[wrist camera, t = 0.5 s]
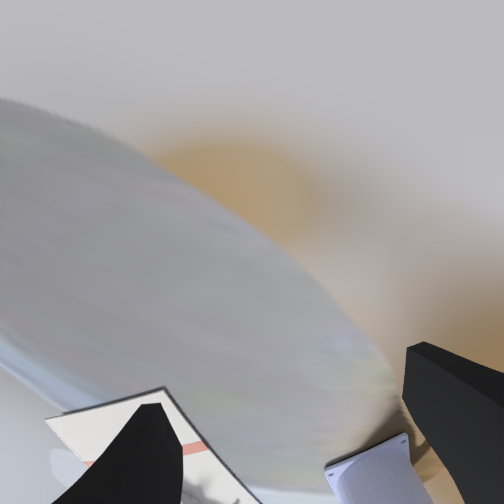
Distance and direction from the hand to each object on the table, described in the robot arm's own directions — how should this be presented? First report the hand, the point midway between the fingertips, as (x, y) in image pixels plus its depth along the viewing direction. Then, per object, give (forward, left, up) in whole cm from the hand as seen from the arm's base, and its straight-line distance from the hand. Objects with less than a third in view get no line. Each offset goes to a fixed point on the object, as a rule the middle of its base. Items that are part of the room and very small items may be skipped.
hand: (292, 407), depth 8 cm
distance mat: (-14, +14, -10) cm, 23 cm away
